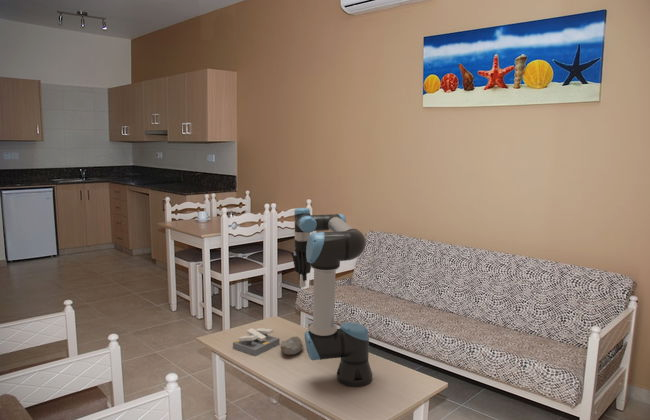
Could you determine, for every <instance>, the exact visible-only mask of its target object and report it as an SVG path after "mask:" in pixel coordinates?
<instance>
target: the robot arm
mask: <svg viewBox="0 0 650 420" xmlns="http://www.w3.org/2000/svg"><path fill="white" fill-rule="evenodd" d="M293 216H294V217H293V218H294V248H295V249H294V251H293V252H291V253H290V255H291V257H292V260H293V267H294V271H295V272H296V273H297V274H298V280H299V288H305V287H307V286H306V285H307V284H306V283H307V278H308V277H307V276H308V275H307V274H310V273H311V269H313V302H312V304H313V305H312V307H313V308H312V323H310V325H309V327H308V330H306V331H305V332H304V341H305V342H304V343H305V348H306V351H307V352H306V353H307V356H308V357H309V359H310V360H311V361H322V360H330V359H331V360H332V359H339V358H340V362H339V365H338V368H337V370H336V381H337V382H338V383H340V384H341V385H342V386H347V387H354V388H357V387H360V388H361V387H363V386H367V385H370V384H371V383H372V381H373V371H372V368H371V365H370V361H369V356H370V355H369V352H370V351H369V348H370V347H369V346H370V345H369V344H370V342H369V341H370V335H369V329H368V328H367V327H366V326H365V325H362V324H360V323H356V322H344V323H342V324H341V325H340V327H339V328H338V326H337V325H336V324H335V304H336V303H335V299H336V298H335V297H336V272H337V270H338V269H339V268H340V266H341V265H340V264H341V262H343V261H344V262H346V261H351V260H352V261H353V260H355V259H357V258H358V257H360V256H361V255H362V254H363V253H364V250H365V249H366V246H367V241H366V237H365V235H364V233H363V232H362V231H360V230H359V229H358V228H352V226H351V225H349V224H348V223H347V219H346V216H345V215H344V214H343V213H342V214H341V213H333V214H332V213H331V214H311V211H310V208H307V207H297V208H295V209H294V215H293Z"/></svg>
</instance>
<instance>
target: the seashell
mask: <svg viewBox="0 0 650 420" xmlns="http://www.w3.org/2000/svg"><path fill="white" fill-rule="evenodd" d="M303 349H304V344H303V342H302V340H301V339H300V337H298V336H292V337H290V338H289V339H286V340H284V341H281V344H280V350H281V351H282V353H284V354H285V355H287V356H289V355H290V356H293V355H295V354H298V353H299V352H301V350H303Z"/></svg>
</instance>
